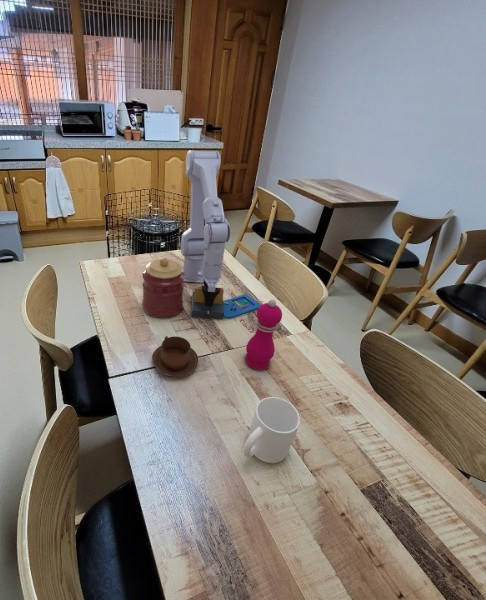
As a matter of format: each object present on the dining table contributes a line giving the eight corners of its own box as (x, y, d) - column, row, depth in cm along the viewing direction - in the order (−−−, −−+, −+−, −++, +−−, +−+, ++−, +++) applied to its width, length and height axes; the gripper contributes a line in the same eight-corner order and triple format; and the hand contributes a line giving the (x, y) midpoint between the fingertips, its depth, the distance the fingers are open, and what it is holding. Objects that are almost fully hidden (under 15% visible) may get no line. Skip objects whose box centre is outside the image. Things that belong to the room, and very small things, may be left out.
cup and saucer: (142, 363, 88) (142, 345, 85) (173, 342, 96) (175, 324, 92) (176, 388, 82) (177, 370, 78) (206, 363, 89) (209, 346, 86)
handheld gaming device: (210, 304, 111) (245, 293, 118) (210, 306, 112) (245, 295, 118) (226, 317, 105) (262, 305, 112) (226, 320, 106) (261, 308, 113)
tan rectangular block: (193, 301, 109) (195, 288, 106) (193, 299, 110) (195, 285, 107) (221, 304, 108) (223, 290, 106) (221, 301, 110) (223, 287, 107)
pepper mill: (275, 362, 91) (294, 300, 80) (261, 376, 87) (279, 313, 76) (252, 348, 95) (267, 288, 84) (238, 361, 91) (251, 299, 80)
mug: (255, 483, 64) (266, 451, 58) (225, 449, 69) (232, 417, 63) (295, 450, 70) (309, 419, 64) (265, 422, 75) (275, 390, 69)
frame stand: (186, 318, 105) (186, 311, 104) (187, 295, 116) (187, 289, 115) (228, 321, 105) (229, 315, 104) (225, 298, 116) (226, 291, 115)
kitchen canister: (187, 316, 106) (191, 266, 96) (146, 320, 103) (146, 270, 93) (176, 294, 117) (180, 247, 107) (139, 297, 114) (139, 249, 104)
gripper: (199, 249, 107) (195, 286, 115) (199, 272, 95) (195, 311, 103) (221, 251, 107) (216, 287, 115) (224, 273, 95) (218, 312, 103)
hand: (208, 298), depth 109 cm, fingers open, 7 cm apart
